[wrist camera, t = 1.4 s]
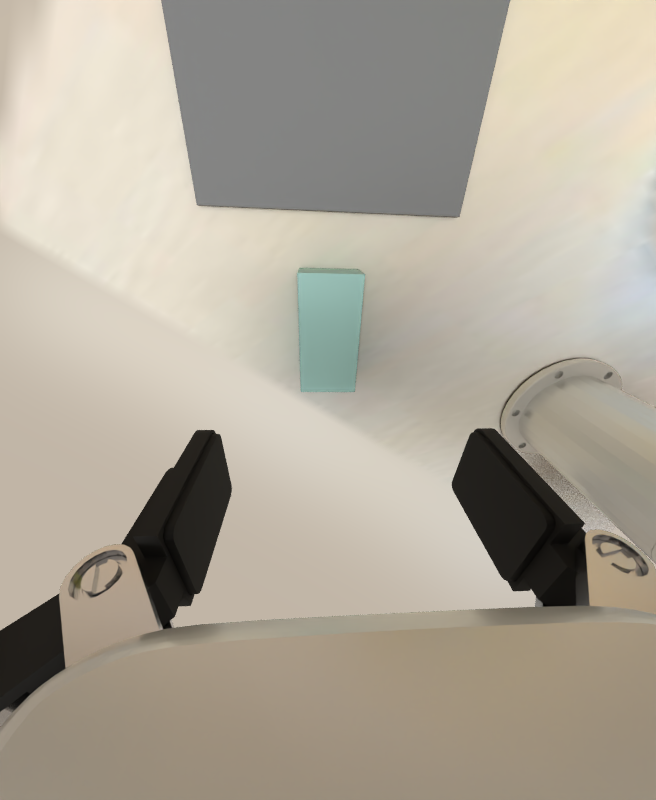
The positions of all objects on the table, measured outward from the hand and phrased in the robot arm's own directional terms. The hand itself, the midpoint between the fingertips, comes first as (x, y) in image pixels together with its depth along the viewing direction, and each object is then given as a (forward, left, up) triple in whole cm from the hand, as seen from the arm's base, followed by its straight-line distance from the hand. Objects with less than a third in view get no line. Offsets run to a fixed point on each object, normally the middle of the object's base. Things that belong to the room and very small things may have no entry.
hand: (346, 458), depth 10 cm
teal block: (0, 0, -18) cm, 18 cm away
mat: (0, -15, -18) cm, 23 cm away
